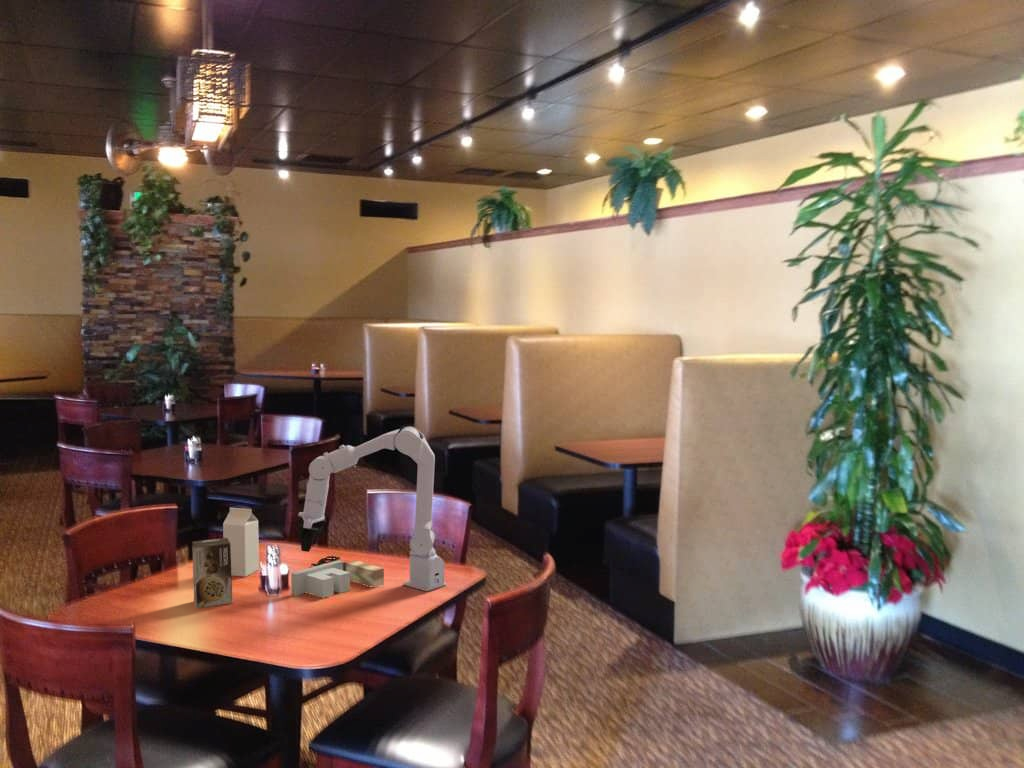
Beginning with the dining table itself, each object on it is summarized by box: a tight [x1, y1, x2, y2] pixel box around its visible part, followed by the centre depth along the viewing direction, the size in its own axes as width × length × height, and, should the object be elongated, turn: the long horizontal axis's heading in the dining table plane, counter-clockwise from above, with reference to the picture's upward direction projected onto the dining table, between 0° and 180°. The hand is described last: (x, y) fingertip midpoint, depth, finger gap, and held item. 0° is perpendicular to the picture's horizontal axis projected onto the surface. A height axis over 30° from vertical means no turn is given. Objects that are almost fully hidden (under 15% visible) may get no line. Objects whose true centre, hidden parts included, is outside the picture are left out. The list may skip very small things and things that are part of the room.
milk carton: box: [222, 507, 260, 578], centre depth 254 cm, size 7×7×19 cm
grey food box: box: [191, 537, 234, 609], centre depth 228 cm, size 9×6×16 cm
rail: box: [343, 560, 385, 588], centre depth 248 cm, size 15×4×5 cm, turn 50°
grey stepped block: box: [290, 560, 351, 599], centre depth 239 cm, size 9×16×6 cm, turn 141°
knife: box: [310, 555, 341, 566], centre depth 258 cm, size 25×6×1 cm, turn 165°
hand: (308, 547), depth 244 cm, fingers open, 7 cm apart
